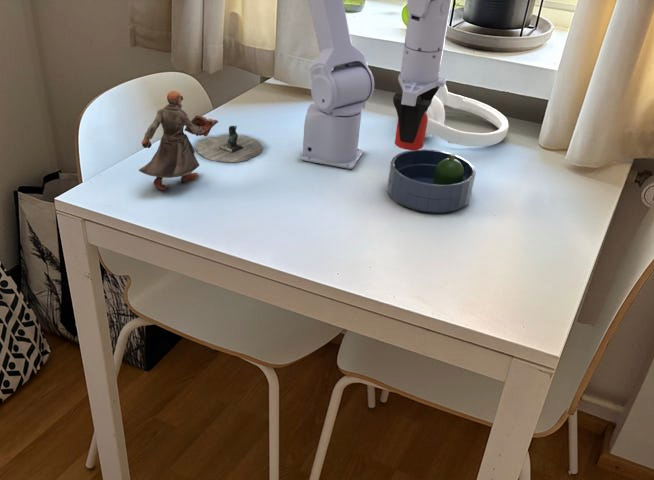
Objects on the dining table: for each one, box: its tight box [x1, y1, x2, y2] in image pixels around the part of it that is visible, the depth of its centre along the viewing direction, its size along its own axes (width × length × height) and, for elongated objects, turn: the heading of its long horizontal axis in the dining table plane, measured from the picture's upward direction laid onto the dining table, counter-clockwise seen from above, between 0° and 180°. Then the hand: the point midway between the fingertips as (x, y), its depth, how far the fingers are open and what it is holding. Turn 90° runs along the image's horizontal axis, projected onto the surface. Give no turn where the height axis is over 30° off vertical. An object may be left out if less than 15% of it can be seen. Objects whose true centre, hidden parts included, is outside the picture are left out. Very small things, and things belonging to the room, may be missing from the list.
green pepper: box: [433, 153, 464, 185], centre depth 121 cm, size 5×5×7 cm
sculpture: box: [194, 125, 265, 163], centre depth 135 cm, size 12×9×8 cm
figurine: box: [138, 90, 219, 191], centre depth 118 cm, size 14×7×15 cm, turn 110°
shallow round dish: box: [386, 148, 477, 214], centre depth 122 cm, size 14×14×5 cm
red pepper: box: [394, 112, 428, 151], centre depth 116 cm, size 5×5×7 cm
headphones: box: [425, 84, 510, 147], centre depth 144 cm, size 20×8×20 cm
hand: (410, 135), depth 118 cm, fingers closed on red pepper, 4 cm apart
